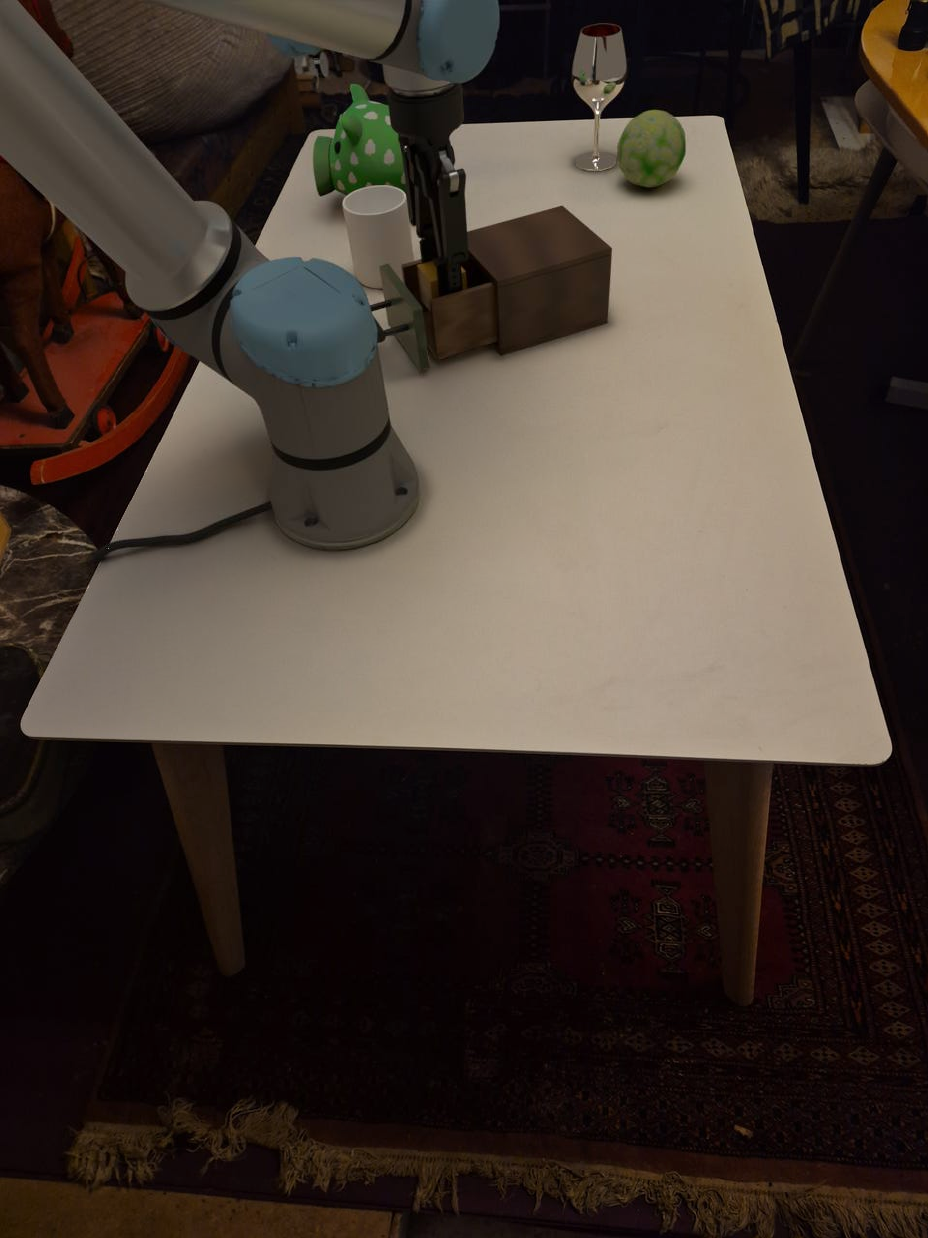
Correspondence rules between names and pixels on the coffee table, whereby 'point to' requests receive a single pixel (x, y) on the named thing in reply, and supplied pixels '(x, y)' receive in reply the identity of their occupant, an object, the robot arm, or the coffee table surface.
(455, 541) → the coffee table surface
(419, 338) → the drawer
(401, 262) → the cup
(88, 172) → the robot arm
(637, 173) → the decorative ball
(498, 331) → the cabinet
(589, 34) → the wineglass
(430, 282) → the block
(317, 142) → the piggy bank
